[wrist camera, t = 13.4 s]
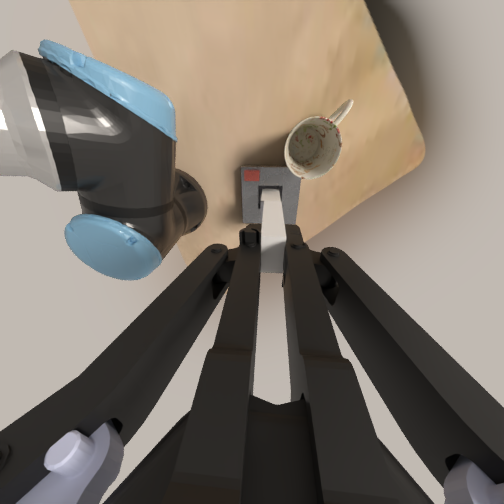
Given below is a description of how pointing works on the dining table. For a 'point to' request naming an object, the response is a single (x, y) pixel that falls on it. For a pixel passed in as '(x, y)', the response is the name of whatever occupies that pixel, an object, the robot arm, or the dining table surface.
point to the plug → (268, 198)
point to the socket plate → (269, 179)
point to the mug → (315, 144)
